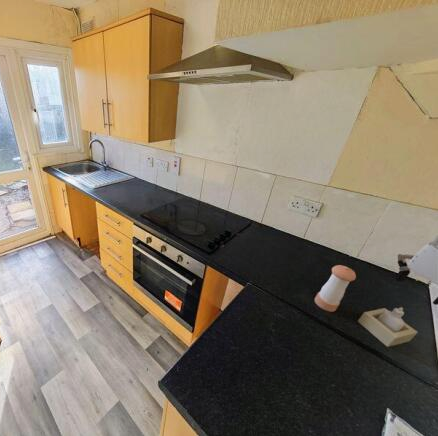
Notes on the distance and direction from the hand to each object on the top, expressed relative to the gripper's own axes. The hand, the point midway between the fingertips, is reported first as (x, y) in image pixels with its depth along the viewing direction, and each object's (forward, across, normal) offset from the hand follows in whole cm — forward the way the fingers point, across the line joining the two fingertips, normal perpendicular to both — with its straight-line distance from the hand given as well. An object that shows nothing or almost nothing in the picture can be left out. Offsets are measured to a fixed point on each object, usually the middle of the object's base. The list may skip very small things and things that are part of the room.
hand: (417, 291), depth 71 cm
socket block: (+20, 0, +1) cm, 20 cm away
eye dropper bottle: (+20, 0, +1) cm, 20 cm away
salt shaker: (+20, +14, +11) cm, 27 cm away
